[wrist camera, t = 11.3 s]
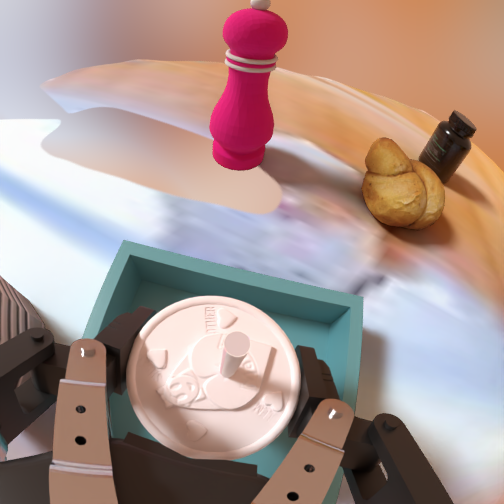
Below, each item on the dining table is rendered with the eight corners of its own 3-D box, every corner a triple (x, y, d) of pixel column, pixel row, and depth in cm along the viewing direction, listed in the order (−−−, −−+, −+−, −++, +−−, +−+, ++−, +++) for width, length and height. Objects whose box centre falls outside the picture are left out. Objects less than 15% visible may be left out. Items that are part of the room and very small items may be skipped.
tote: (84, 442, 15) (53, 447, 10) (138, 271, 23) (123, 239, 19) (308, 496, 15) (332, 514, 10) (337, 318, 23) (363, 296, 19)
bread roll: (423, 194, 35) (450, 156, 28) (441, 248, 30) (478, 211, 23) (349, 172, 34) (372, 125, 28) (360, 230, 29) (394, 180, 22)
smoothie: (277, 408, 17) (406, 396, 5) (194, 449, 14) (152, 540, 3) (231, 332, 19) (266, 193, 8) (151, 368, 17) (42, 281, 5)
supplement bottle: (438, 162, 42) (467, 115, 31) (452, 187, 38) (487, 139, 28) (412, 152, 41) (441, 100, 31) (426, 179, 37) (462, 124, 27)
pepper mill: (253, 135, 36) (279, -5, 19) (276, 168, 32) (318, 6, 15) (201, 142, 33) (210, -10, 16) (218, 179, 30) (236, -5, 13)
